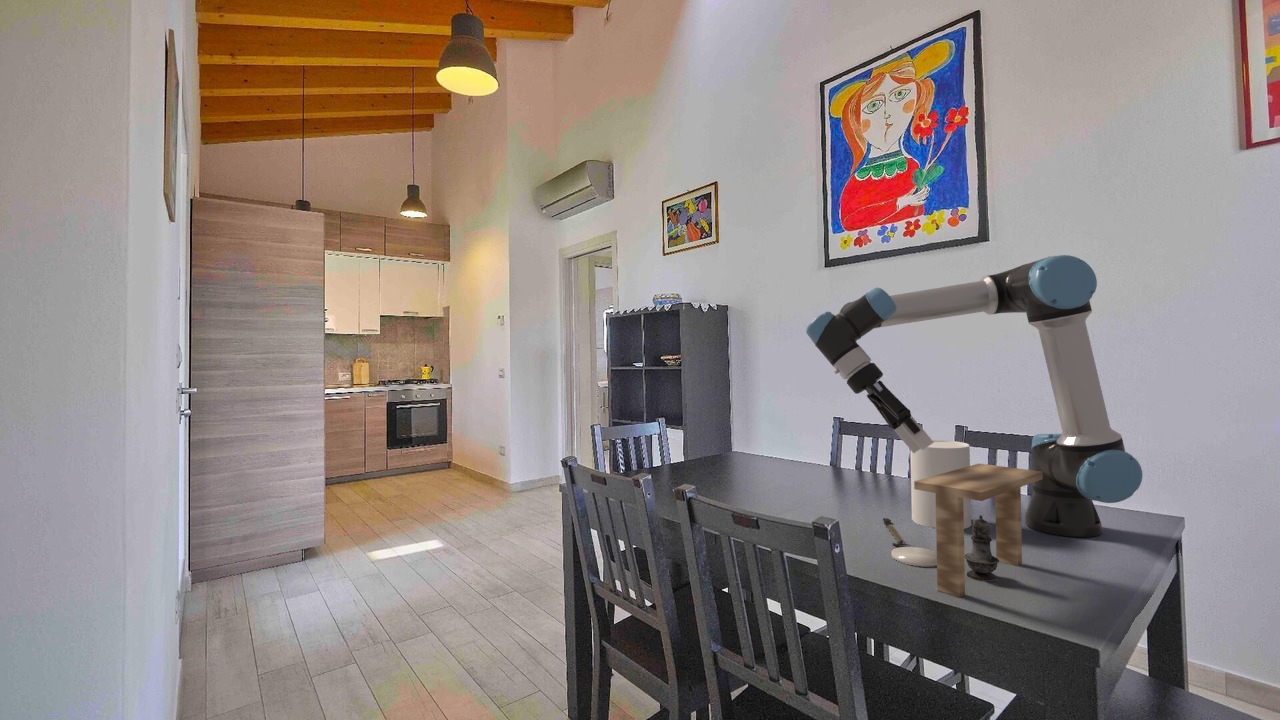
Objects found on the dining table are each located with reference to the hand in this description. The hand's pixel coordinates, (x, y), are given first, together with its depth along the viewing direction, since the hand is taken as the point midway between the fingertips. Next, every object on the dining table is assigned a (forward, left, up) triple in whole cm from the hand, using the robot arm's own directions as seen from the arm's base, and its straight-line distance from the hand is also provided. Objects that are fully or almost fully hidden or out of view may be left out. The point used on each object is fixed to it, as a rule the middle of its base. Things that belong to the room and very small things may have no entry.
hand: (923, 448), depth 127 cm
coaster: (+3, +3, -23) cm, 23 cm away
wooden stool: (-6, +13, -23) cm, 27 cm away
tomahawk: (0, -15, -24) cm, 28 cm away
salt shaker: (-6, +13, -23) cm, 27 cm away
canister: (-14, -24, -23) cm, 36 cm away
